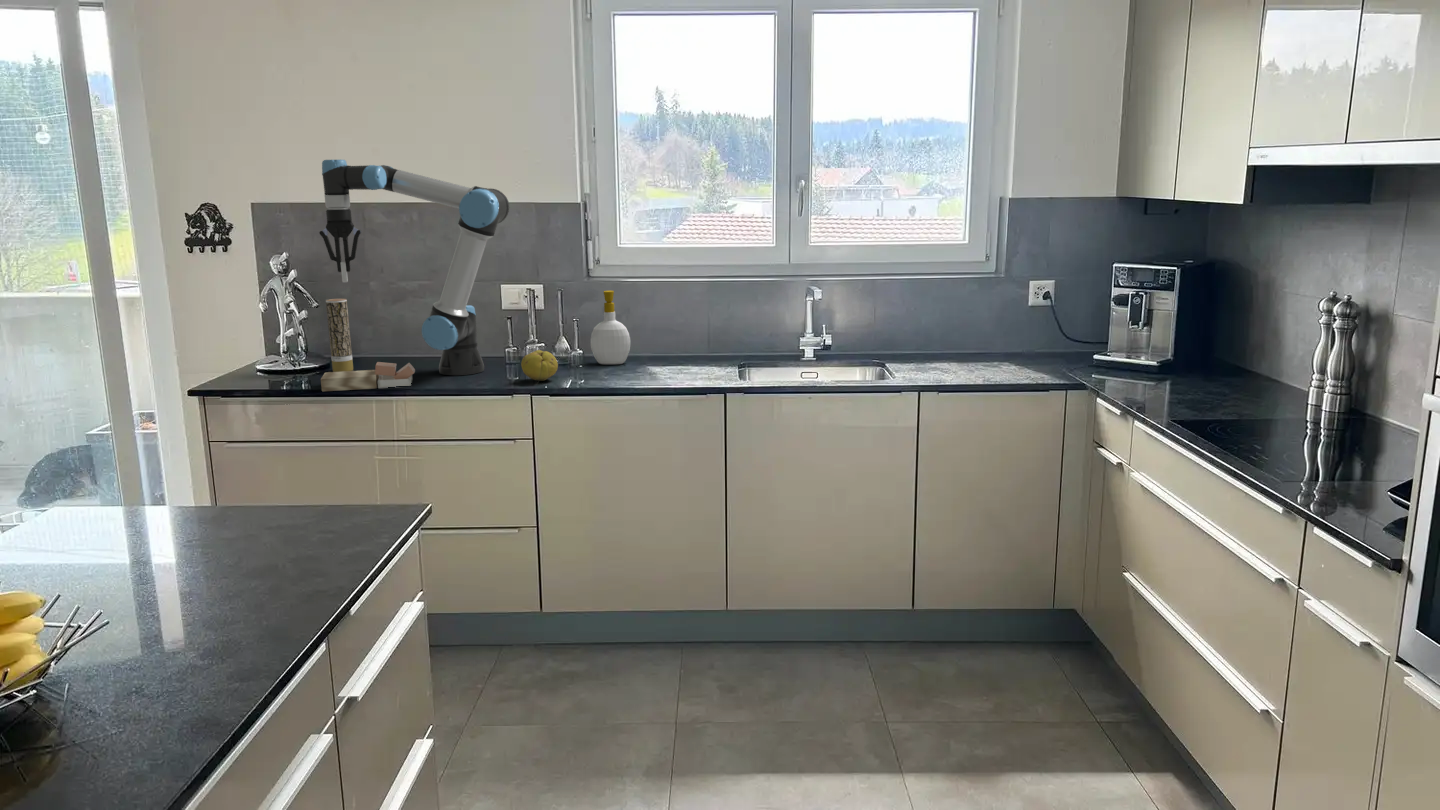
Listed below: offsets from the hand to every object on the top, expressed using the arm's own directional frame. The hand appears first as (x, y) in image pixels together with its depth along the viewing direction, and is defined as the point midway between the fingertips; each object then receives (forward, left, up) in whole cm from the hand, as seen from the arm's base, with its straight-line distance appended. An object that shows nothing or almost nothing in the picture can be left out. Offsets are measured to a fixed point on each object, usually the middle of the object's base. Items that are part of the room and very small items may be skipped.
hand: (345, 281), depth 329 cm
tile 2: (-16, +13, -28) cm, 35 cm away
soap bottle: (-87, -1, -33) cm, 93 cm away
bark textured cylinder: (+5, -14, -33) cm, 36 cm away
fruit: (-60, +22, -33) cm, 72 cm away
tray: (-14, +13, -32) cm, 38 cm away
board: (0, +13, -32) cm, 35 cm away
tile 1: (-11, +13, -29) cm, 34 cm away
